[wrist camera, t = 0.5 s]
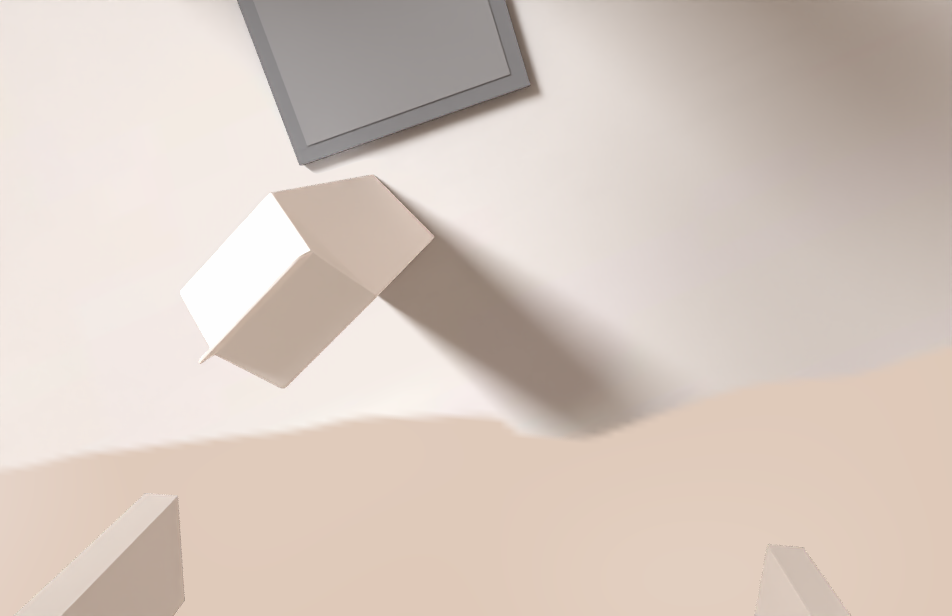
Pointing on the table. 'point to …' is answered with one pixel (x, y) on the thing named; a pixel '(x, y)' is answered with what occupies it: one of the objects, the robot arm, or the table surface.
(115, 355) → the table surface
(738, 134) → the table surface
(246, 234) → the milk
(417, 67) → the mat
